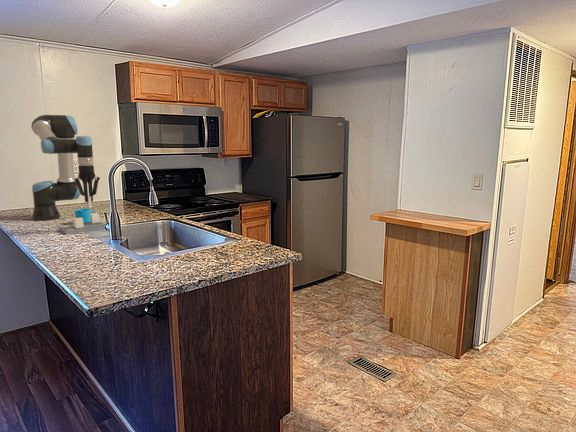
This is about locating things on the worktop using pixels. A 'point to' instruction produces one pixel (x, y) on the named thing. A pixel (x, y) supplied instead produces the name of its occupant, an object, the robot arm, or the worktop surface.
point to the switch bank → (86, 228)
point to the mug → (83, 214)
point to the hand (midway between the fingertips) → (89, 207)
